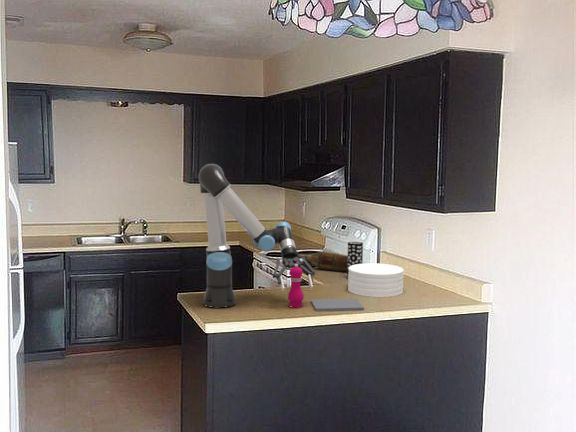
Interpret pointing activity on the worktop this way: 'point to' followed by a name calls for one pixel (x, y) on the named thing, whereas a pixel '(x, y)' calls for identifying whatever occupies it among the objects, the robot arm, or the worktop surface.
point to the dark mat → (336, 304)
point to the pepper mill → (295, 287)
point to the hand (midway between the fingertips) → (297, 288)
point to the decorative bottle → (327, 260)
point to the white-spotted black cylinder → (354, 254)
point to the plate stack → (375, 280)
